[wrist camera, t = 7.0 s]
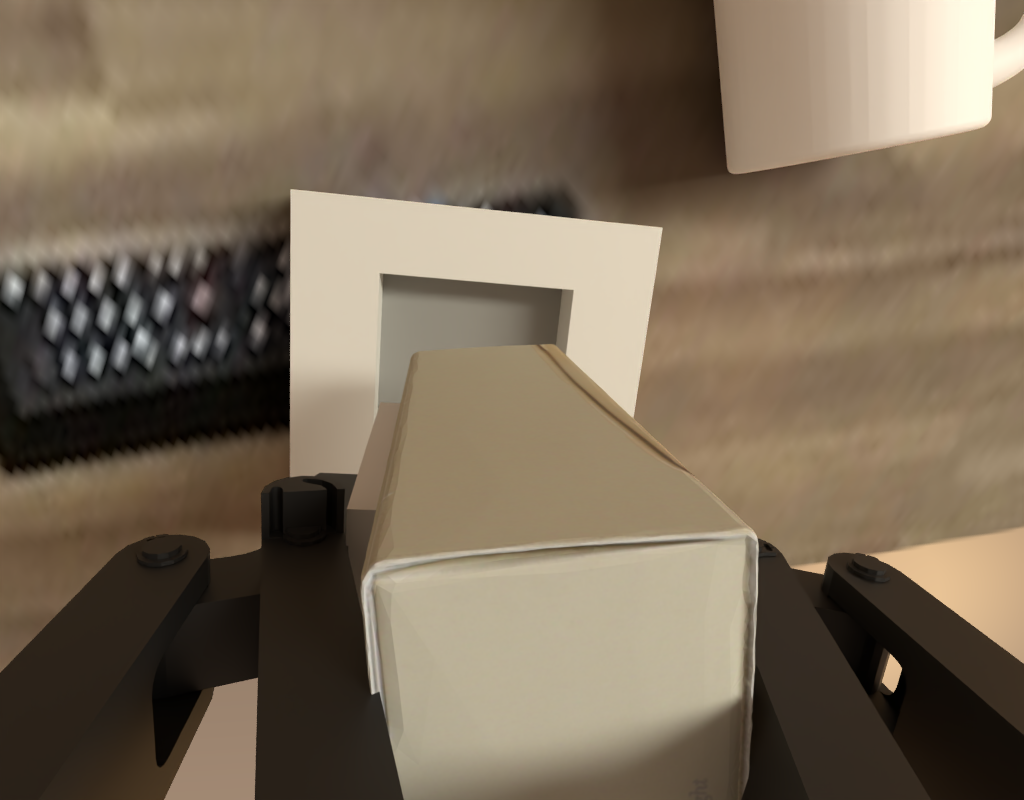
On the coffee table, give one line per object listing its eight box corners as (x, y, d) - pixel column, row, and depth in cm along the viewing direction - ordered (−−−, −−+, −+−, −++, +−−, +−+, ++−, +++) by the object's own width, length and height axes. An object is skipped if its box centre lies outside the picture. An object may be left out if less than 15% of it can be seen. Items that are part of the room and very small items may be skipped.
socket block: (304, 507, 27) (289, 540, 24) (307, 192, 24) (290, 189, 21) (595, 516, 29) (613, 549, 26) (636, 226, 26) (662, 227, 23)
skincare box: (560, 530, 20) (748, 961, 8) (418, 544, 19) (406, 1025, 8) (555, 333, 18) (786, 528, 7) (400, 343, 18) (350, 574, 6)
